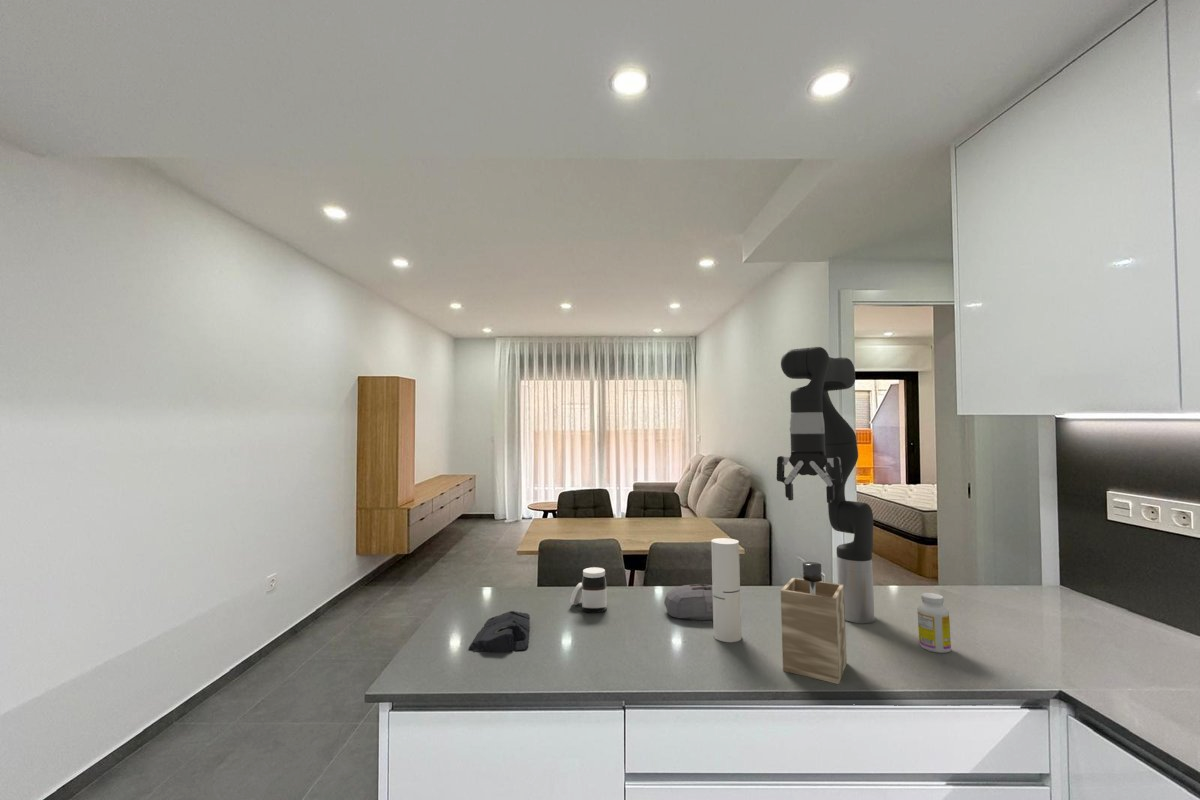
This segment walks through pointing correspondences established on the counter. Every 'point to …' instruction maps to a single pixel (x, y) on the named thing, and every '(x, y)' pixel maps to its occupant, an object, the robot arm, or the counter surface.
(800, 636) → the wooden utensil holder
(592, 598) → the spread jar
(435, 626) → the counter surface
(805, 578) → the plunger
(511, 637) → the dark slate chunk
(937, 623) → the supplement bottle
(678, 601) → the grey rounded bag
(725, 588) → the cylindrical container
